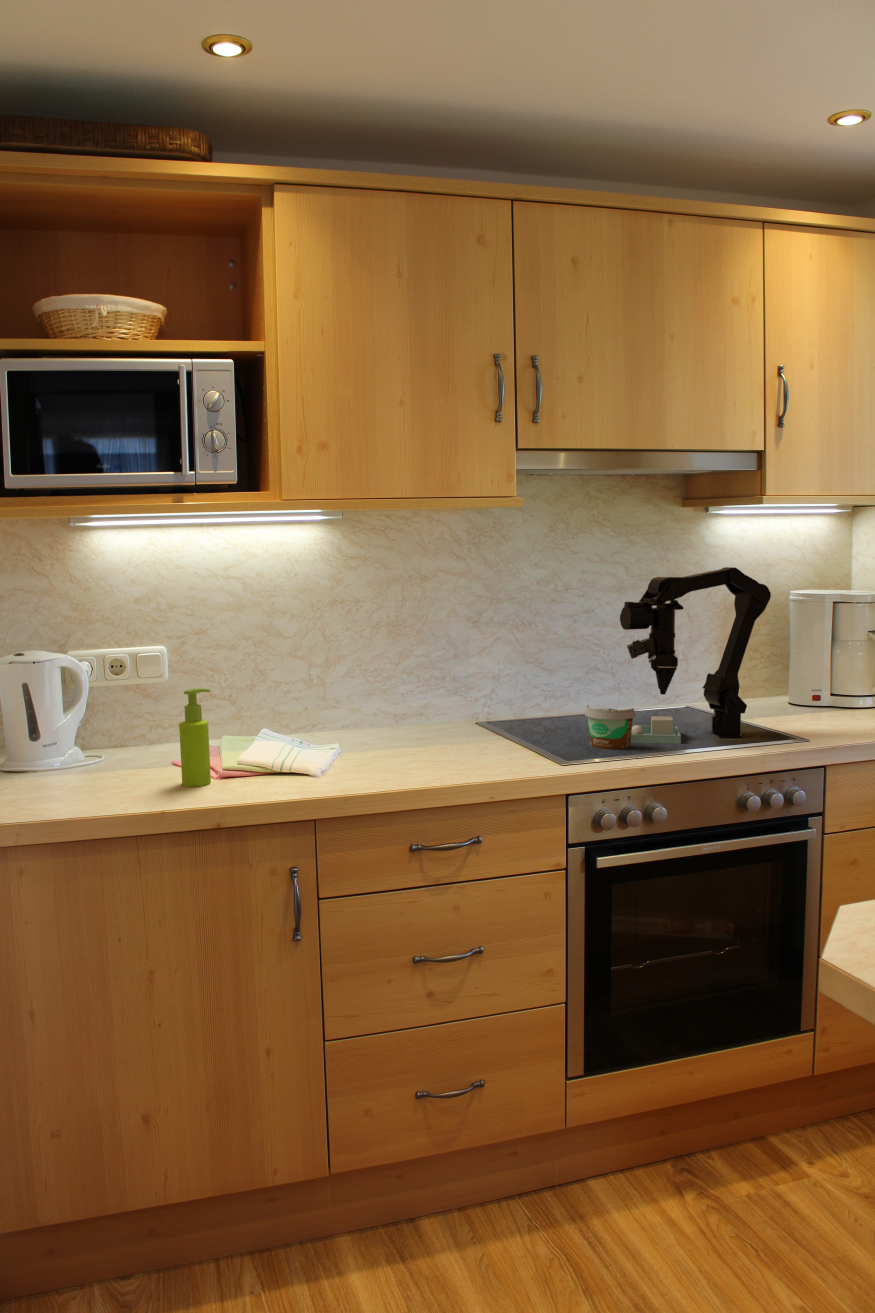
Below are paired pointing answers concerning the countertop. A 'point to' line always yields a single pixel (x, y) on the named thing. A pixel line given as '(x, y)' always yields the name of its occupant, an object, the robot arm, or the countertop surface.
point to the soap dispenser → (194, 744)
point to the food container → (610, 727)
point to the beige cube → (661, 725)
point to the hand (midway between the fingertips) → (661, 691)
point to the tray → (656, 737)
